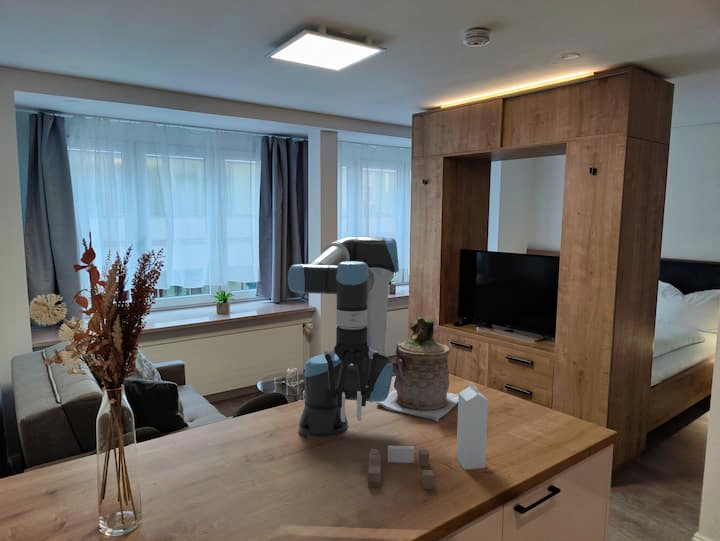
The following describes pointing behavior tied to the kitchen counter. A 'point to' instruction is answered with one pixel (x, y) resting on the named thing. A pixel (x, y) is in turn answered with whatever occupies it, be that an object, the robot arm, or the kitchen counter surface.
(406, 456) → the stool seat
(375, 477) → the hinged leg
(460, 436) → the milk
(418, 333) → the cookie jar
